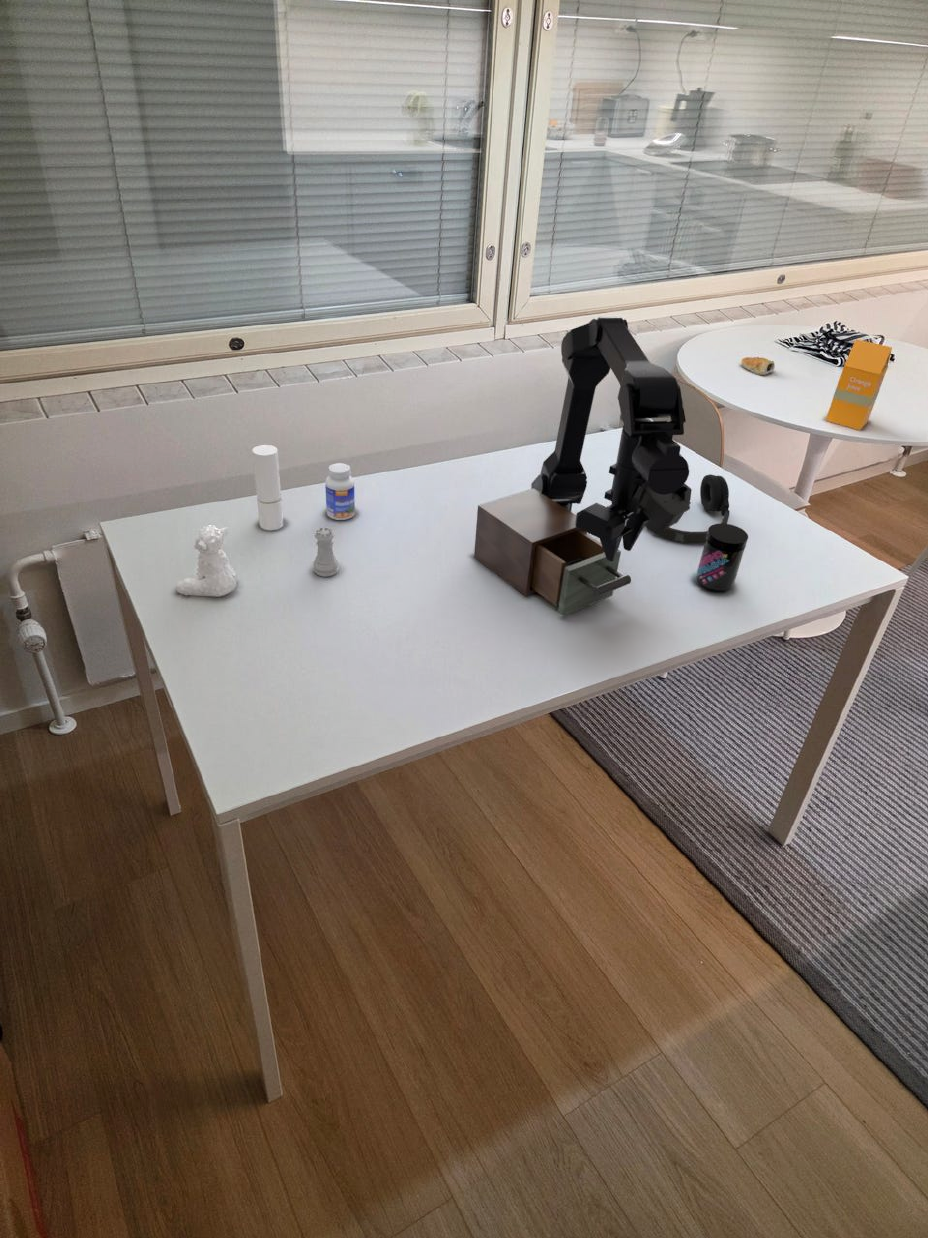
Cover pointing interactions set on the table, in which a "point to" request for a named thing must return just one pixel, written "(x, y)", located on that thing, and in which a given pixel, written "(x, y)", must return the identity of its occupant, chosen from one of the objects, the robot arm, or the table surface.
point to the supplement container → (721, 557)
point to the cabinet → (518, 534)
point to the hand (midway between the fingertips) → (618, 555)
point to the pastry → (758, 365)
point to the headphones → (712, 500)
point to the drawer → (575, 572)
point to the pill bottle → (340, 492)
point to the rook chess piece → (325, 554)
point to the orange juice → (859, 384)
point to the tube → (268, 487)
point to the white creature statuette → (210, 566)
